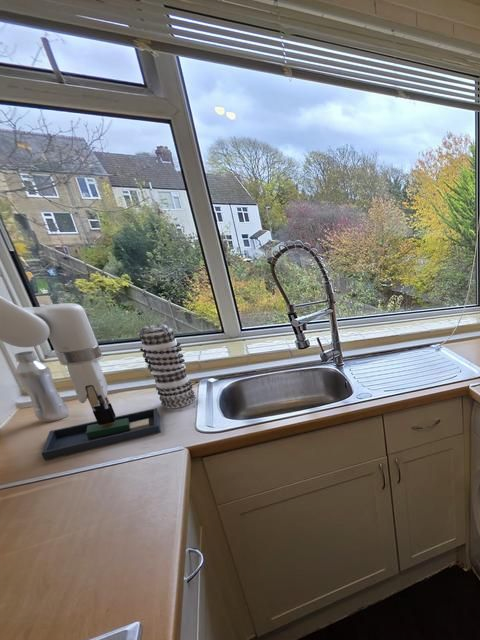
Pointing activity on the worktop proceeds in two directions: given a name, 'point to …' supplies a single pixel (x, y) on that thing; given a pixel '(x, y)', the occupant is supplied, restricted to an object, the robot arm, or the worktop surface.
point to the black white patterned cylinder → (166, 366)
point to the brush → (107, 428)
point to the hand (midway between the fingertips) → (107, 420)
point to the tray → (77, 440)
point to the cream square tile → (139, 424)
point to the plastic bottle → (40, 387)
